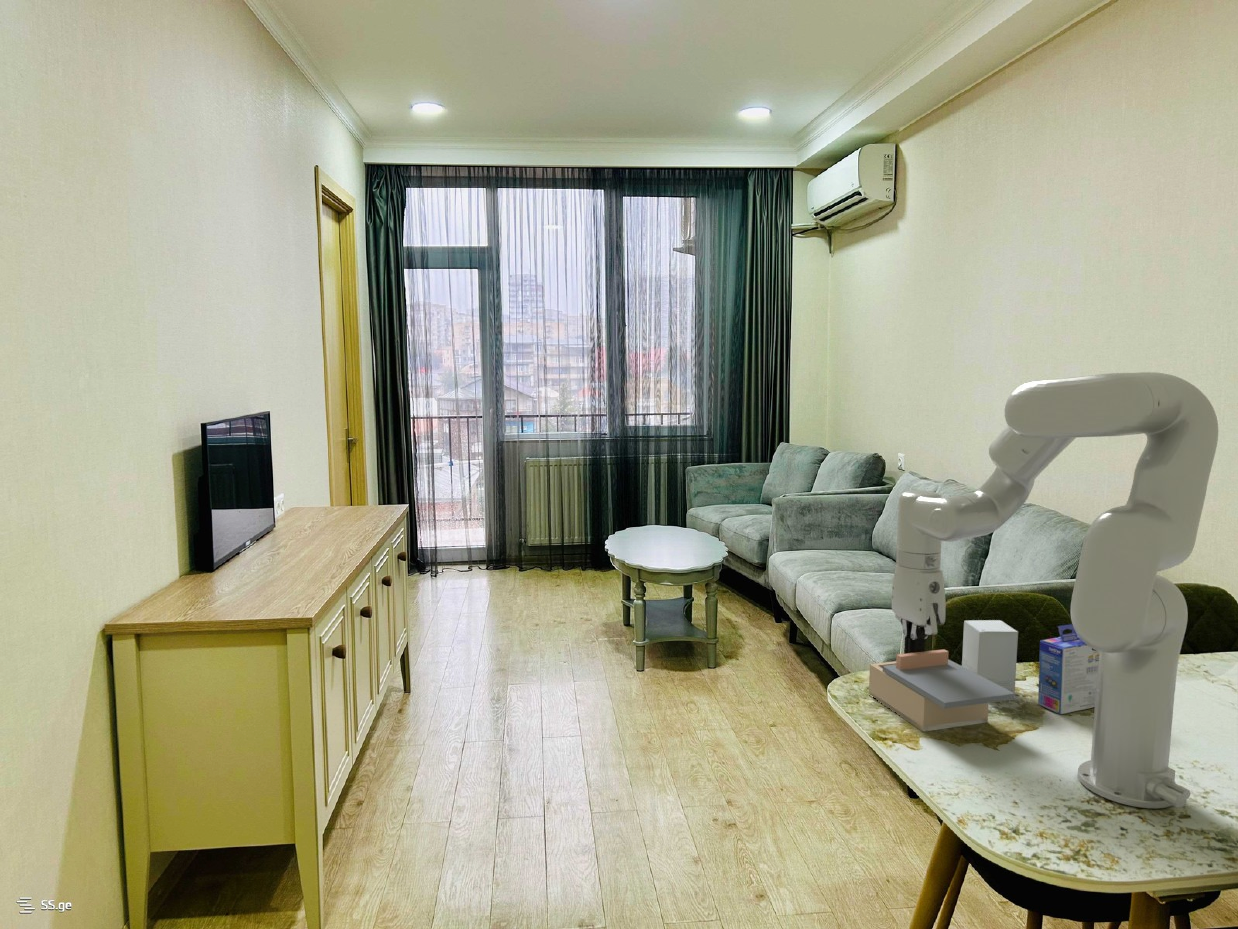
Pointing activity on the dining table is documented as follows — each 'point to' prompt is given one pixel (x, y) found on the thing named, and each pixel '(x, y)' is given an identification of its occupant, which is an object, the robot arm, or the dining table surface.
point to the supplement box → (991, 651)
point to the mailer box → (920, 704)
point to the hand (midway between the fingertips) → (914, 657)
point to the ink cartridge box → (1067, 673)
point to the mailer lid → (945, 680)
